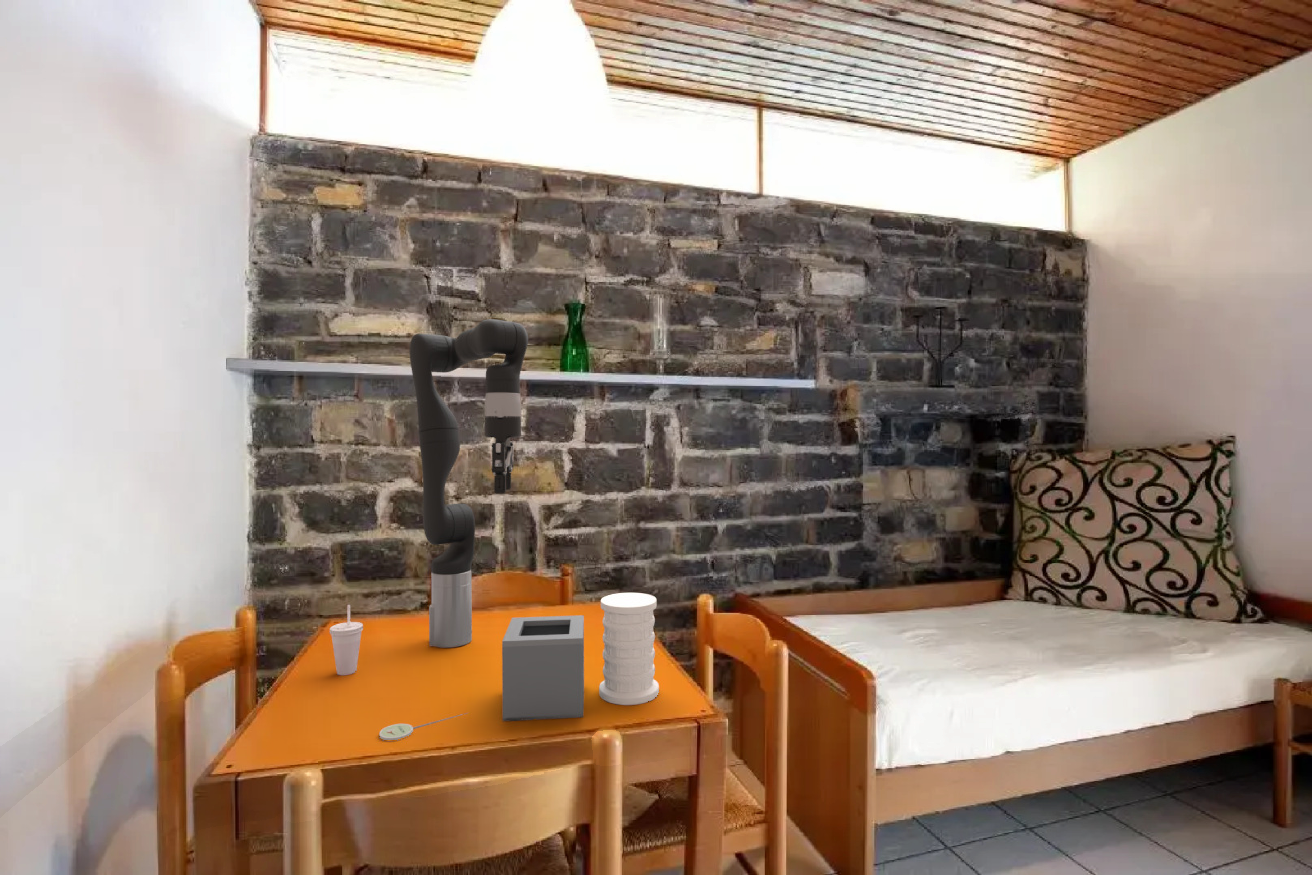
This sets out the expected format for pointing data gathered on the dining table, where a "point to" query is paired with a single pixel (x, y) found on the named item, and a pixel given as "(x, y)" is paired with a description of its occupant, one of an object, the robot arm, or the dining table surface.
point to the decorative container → (628, 649)
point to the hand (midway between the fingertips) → (503, 491)
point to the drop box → (543, 668)
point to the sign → (401, 730)
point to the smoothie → (346, 645)
